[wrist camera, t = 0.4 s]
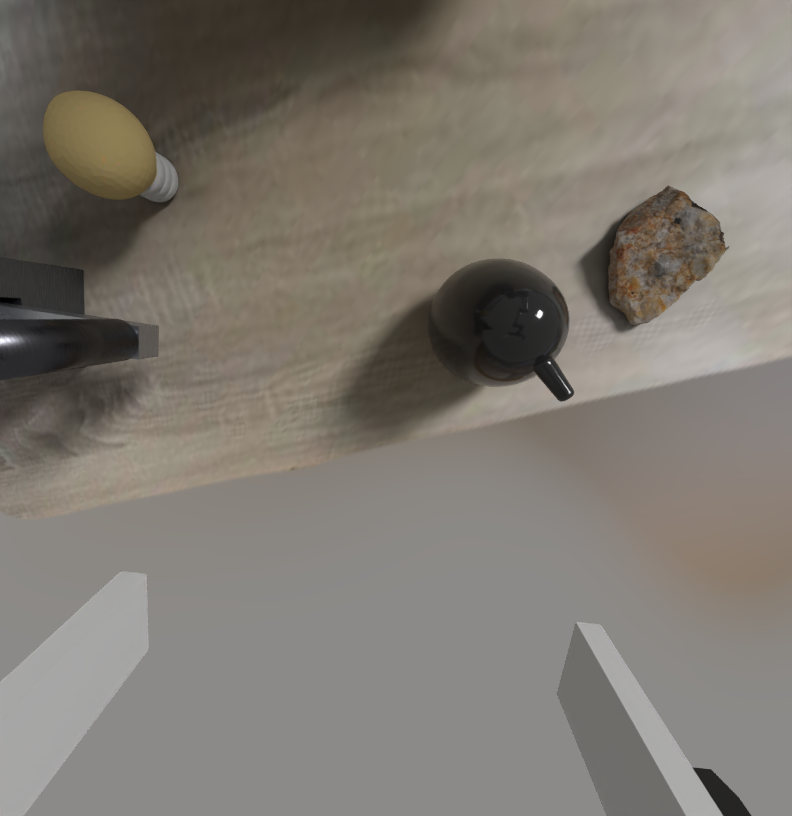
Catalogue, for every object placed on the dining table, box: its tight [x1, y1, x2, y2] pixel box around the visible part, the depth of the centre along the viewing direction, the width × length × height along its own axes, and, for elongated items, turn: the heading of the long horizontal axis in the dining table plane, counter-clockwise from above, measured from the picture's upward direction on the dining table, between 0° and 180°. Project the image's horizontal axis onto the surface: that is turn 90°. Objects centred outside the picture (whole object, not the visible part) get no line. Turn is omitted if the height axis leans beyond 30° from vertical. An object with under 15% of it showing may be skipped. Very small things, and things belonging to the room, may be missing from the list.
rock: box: [608, 186, 729, 325], centre depth 33 cm, size 9×6×10 cm
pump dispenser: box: [428, 259, 574, 401], centre depth 30 cm, size 10×10×15 cm
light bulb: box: [43, 90, 178, 202], centre depth 30 cm, size 6×6×10 cm
